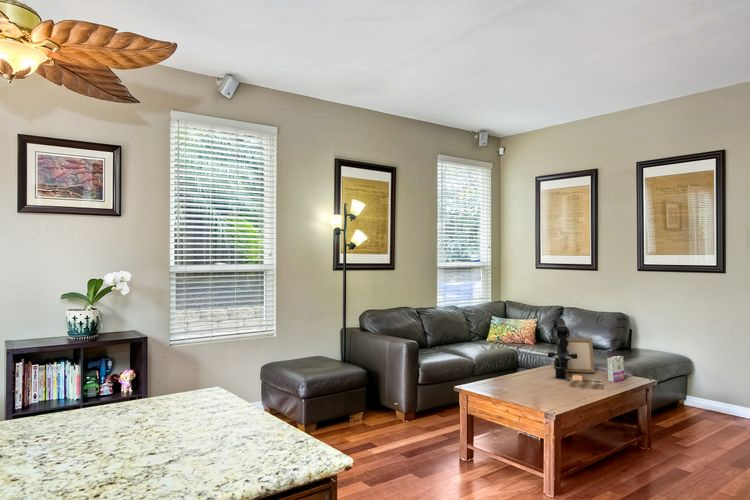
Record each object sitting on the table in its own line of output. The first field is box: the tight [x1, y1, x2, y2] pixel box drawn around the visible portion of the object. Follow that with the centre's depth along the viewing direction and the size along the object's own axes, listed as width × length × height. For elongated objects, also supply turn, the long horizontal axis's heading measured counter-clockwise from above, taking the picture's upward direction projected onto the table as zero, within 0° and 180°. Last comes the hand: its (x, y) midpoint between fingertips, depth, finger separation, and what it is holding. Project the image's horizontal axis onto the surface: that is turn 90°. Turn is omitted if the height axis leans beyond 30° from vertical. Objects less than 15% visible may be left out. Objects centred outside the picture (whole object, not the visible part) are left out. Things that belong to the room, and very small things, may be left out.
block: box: [572, 374, 583, 382], centre depth 336 cm, size 6×6×5 cm
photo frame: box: [565, 337, 595, 374], centre depth 379 cm, size 15×22×25 cm
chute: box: [568, 377, 603, 390], centre depth 334 cm, size 20×10×4 cm, turn 66°
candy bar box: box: [606, 355, 625, 383], centre depth 349 cm, size 11×5×16 cm, turn 117°
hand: (562, 368), depth 340 cm, fingers open, 3 cm apart
